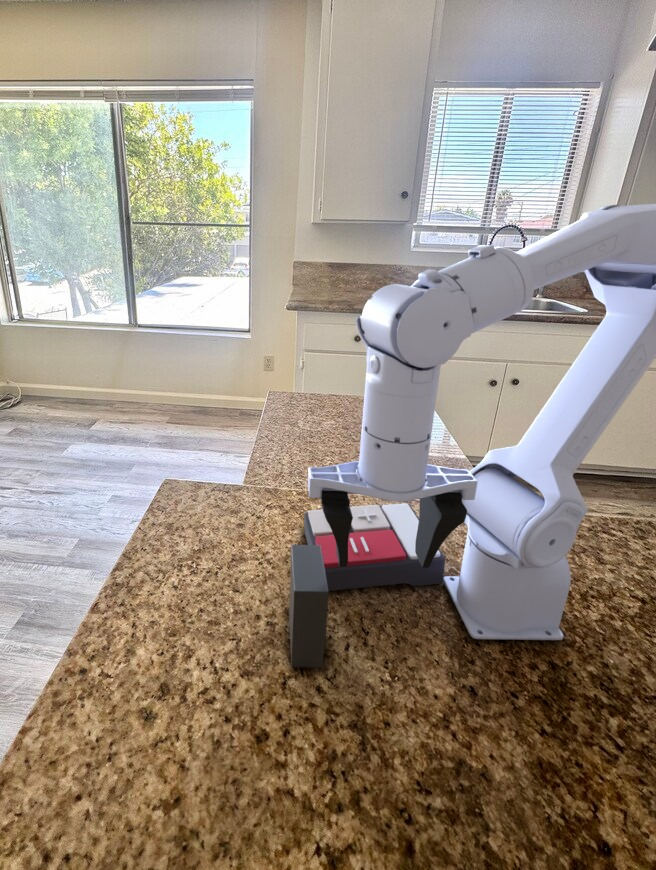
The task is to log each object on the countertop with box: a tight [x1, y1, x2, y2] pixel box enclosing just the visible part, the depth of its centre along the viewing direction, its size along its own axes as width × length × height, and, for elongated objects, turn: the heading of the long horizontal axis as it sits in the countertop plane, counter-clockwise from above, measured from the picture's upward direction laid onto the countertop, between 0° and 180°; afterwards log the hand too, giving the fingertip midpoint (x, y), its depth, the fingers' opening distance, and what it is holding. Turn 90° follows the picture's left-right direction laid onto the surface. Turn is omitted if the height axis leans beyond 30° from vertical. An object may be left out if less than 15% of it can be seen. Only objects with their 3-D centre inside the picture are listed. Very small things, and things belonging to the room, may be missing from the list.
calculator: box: [303, 502, 446, 592], centre depth 53 cm, size 11×4×15 cm
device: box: [288, 544, 330, 669], centre depth 41 cm, size 3×6×9 cm, turn 0°
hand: (381, 559), depth 40 cm, fingers open, 7 cm apart
